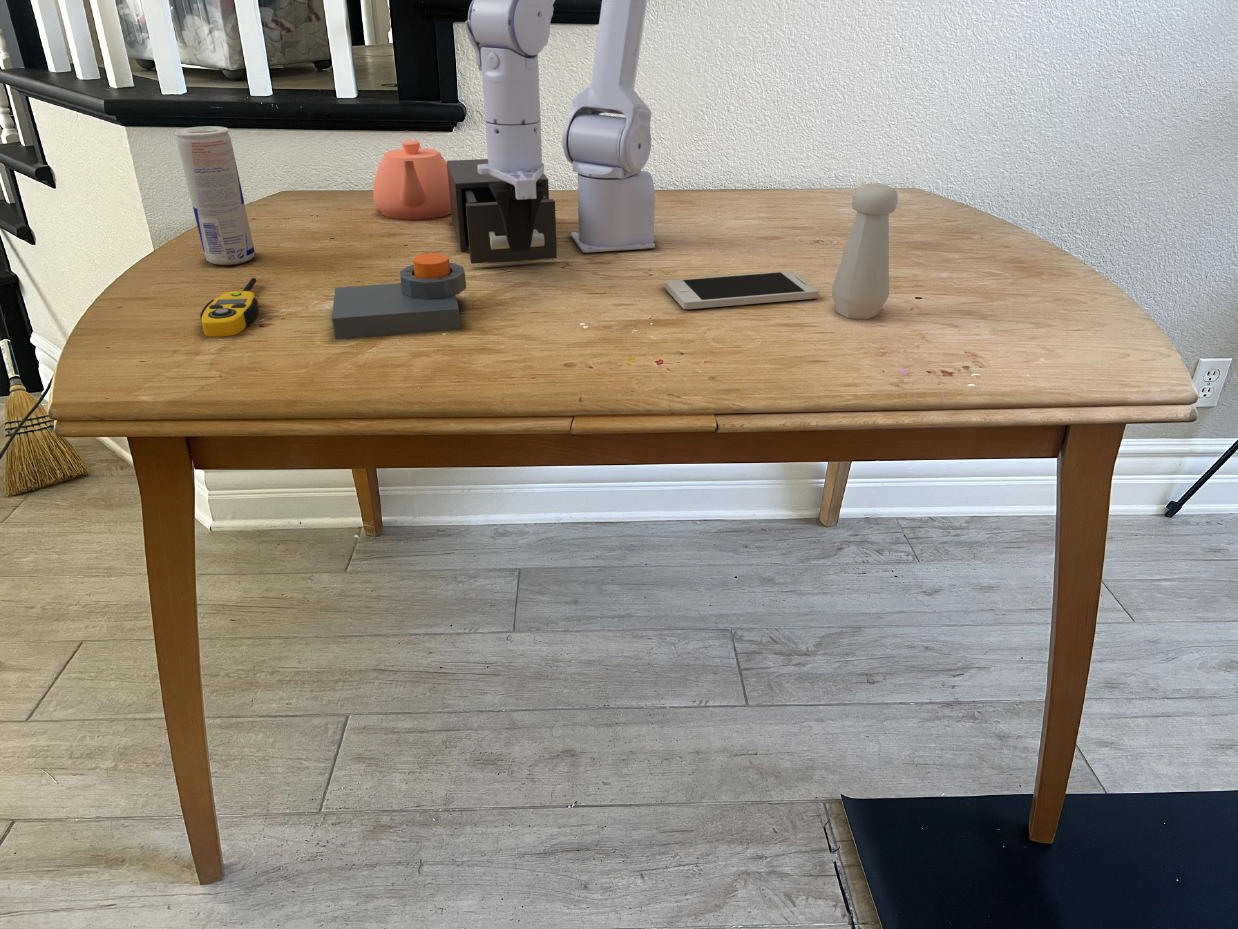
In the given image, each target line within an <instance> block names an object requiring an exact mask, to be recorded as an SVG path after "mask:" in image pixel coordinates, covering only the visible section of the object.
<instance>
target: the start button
mask: <svg viewBox="0 0 1238 929" xmlns="http://www.w3.org/2000/svg"><path fill="white" fill-rule="evenodd" d="M412 263H413V264H412V265H414V273H415V276H416V277H419V278H440V277H444V276H447V275H449V274H450V266H449V263H450V258H449V256H448V255H446V254H443V253H437V252H433V253H431V252H430V253H429V252H428V253H423V254H418V255H416V256H414V257H413V258H412Z"/></svg>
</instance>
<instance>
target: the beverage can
mask: <svg viewBox="0 0 1238 929" xmlns="http://www.w3.org/2000/svg"><path fill="white" fill-rule="evenodd" d="M229 132H230V131H229V128H227V127H224V126H217V125H215V126H212V125H210V126H209V125H208V126H207V125H206V126H193V127H185V128H181V129H178V130H175V132H174V135H175V136H176V144H177V148H178V152H179V156H180V160H181V165H182V168H183V172H184V176H185V180H186V185H187V189H188V192H189V193H188V194H189V197H190V201H191V205H192V210H193V213H194V217H195V222H196V226H197V230H198V235H199V238H200V242H201V247H202V251H203V254H204V255H203V256H204V258H205V260H206V262H209V263H210V264H212V265H216V266H237V265H240V264H244V263H246V262H249V261H251V260H252V259H253V258H254V257H255V256H256V251H255V247H254V242H253V237H252V233H251V227H250V222H249V218H248V213H247V208H246V203H245V200H244V194H243V190H242V185H241V181H240V175H239V171H238V168H237V167H238V166H237V162H236V161H237V160H236V157H235V152H234V146H233V141H232V138H231V135H230V134H229Z"/></svg>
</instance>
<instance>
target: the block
mask: <svg viewBox="0 0 1238 929" xmlns="http://www.w3.org/2000/svg"><path fill="white" fill-rule="evenodd" d="M449 266H450V274H449V275H447V276H444V277H440V278H419V277H416V276H415V273H414V264H411V265H407V266H405V267H404V268H403V269H401V270H399V277H400V282H398V283H397V282H396V283H384V284H383V283H382V284H368V285H354V286H352V285H351V286H340V287H335V288H334V295H333V304H332V305H333V306H332V315H331V321H332V326H333V332H334V338H335V340H342V339H343V340H344V339H345V340H346V339H354V338H368V337H369V338H370V337H379V336H391V335H404V334H416V333H417V334H418V333H428V332H438V331H439V332H440V331H452V330H461V329H462V328H461V326H462V325H461V317H460V308H459V303H458V300H457V295H460V294H461V293H462V292H463V291H465V290H466V289H467V280H466V271H465V267H464V266H462V265H459V264H457V263H454V262H449Z"/></svg>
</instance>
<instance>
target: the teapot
mask: <svg viewBox="0 0 1238 929" xmlns="http://www.w3.org/2000/svg"><path fill="white" fill-rule="evenodd" d="M420 144H421V143H420V141H418V140H405V141H403V142H401V146H402V148H397V149H392V150H388V151H386V152H385V153H384V155H383V156H382V158H381V160H380V162H379V165H378V168H377V170H376V173H375V176H374V181H373V190H372V198H373V203H374V206H375V207H376V208H377V209H378V210H379V212H380V213H381V214H382V215H383V216H385V217H387V218H390V219H395V220H396V219H397V220H398V219H399V220H427V219H436V218H441V217H445V216H448V215H451V205H450V194H449V183H448V172H447V160H446V159H445V158H444V156H443V155H442V154H441V152H440V151H439V150H437V149H434V148H426V147H421V145H420Z"/></svg>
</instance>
